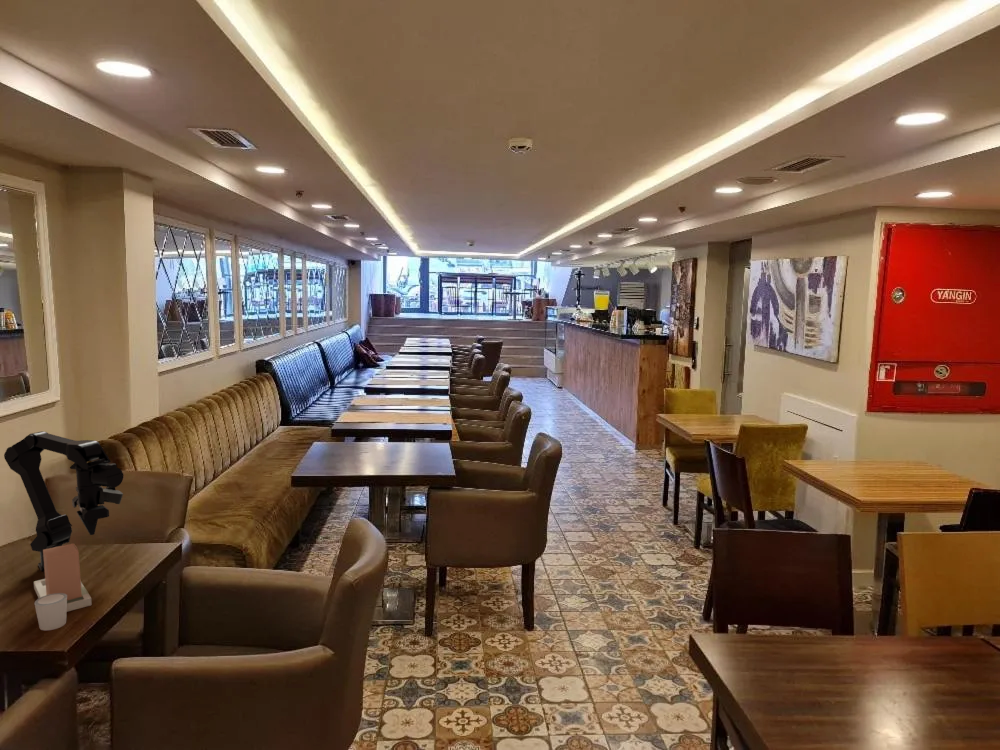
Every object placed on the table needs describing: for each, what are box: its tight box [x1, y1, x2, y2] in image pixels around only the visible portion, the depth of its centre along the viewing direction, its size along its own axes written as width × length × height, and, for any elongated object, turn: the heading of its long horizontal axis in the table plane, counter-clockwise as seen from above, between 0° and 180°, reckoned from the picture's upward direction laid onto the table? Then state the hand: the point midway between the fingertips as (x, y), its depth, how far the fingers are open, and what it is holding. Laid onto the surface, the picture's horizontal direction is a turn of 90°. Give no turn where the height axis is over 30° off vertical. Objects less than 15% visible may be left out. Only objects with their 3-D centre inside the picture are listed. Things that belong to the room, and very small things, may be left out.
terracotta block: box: [43, 542, 82, 600], centre depth 174 cm, size 7×7×13 cm
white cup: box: [34, 593, 67, 631], centre depth 163 cm, size 7×7×7 cm
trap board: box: [33, 578, 93, 612], centre depth 179 cm, size 22×10×2 cm, turn 43°
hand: (92, 534), depth 192 cm, fingers closed
